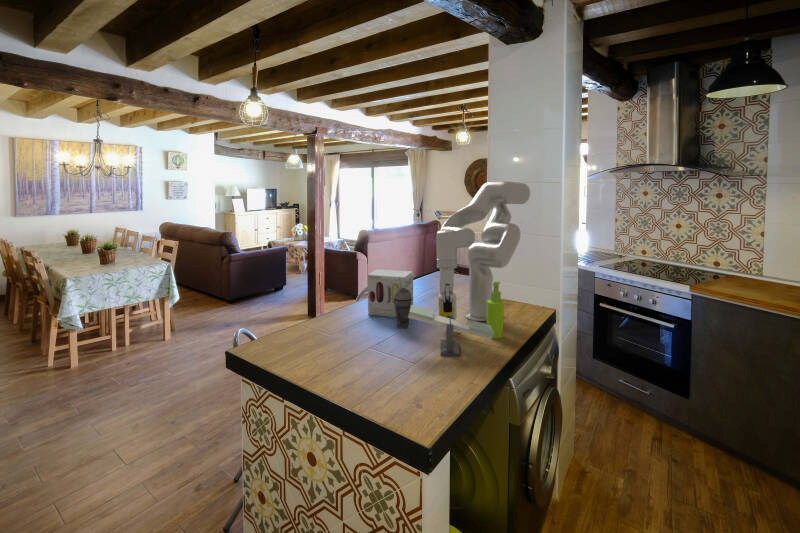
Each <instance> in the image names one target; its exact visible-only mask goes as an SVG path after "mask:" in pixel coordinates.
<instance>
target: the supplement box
mask: <svg viewBox="0 0 800 533" xmlns="http://www.w3.org/2000/svg"><path fill="white" fill-rule="evenodd" d="M399 277H400V280H401V288H406V289H407V290H409V291H410V293H411V296H412V300H411V305H414V271H413V270H396V269H381V268H380V269H379V268H377V269H376V270H373V271H372V272H370V273H368V274H367V312H368V313H367V316H377V317H378V316H379V317H387V318H388V317H389V318H396V311H395V304H394V294H395V292H396V291H397V290H398V289H400V282H399ZM411 305H410V308H411Z"/></svg>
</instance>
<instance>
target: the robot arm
mask: <svg viewBox="0 0 800 533" xmlns="http://www.w3.org/2000/svg"><path fill="white" fill-rule="evenodd" d="M530 196H531V189H530V187H529V185H527V184H526V183H523V182H515V181H503V180H502V181H488V182H485V183H484V184H482V185H481V186H480V187H479V189H478V190H477V192H476V193H475V195H474V196H473V198H472V199H471V201H470V202H469V204H468V205H466V206H464V207H462V208H461V209H459V210H458V211H456V212H454V213H453V214H451V215H450V216H449V217H448V218H447V220H446V221H444V223H443V224H442V227H441V228H440V230H437V232H436V238H435V239H436V241H435V242H436V268H437V269H439V294H441V295H442V294H444V302H443V312H452V302H451V295H452V294H453V293H454V290H453V289H454V286H455V285H454V284H455V269H457V268H458V249H459V248H460V249H461V248H463V249H465V248H466V249H467V248H468V249H467V252H466V254H467V255H466V256H467V261H468V268H469V269H468V272H469V278H468V279H469V280H468V311H466V312H464V318H466V319H467V320H472V321H476V322H487V301H488V300H491V292H492V291H493V283H494V276H493V273H492V270H491V268H493V269H494V268H496V269H503V268H505V267H507V265H508V264H509V263H510V261H511V259H512V257H513V255H514V253H515V251H516V249H517V247H518V245H519V243H520V241H521V230H520V227H519V226H518V225H517V224H515V223H511V220H512V215H511V214H512V213H511V212H510V210H509V208H508V206H507V205H525V204H526V203H527V202H529V200H530V198H531V197H530ZM491 210H492V211H491ZM490 212H491V213H490ZM489 213H490V217H489V218H488V220H487V221H486V224H485V225H484V228H483V230H482V231H481V234H480V238H481V240H482V241H477V242H475V240H476V234H475V232H474V230H472V229H471V228H468V227H465V226H467V225H472V224H475V223H477V222H481V221H483V220H485V219H486V218H487V216H488V215H489ZM445 292H446V294H445ZM449 292H450V294H449ZM445 296H446V297H445Z"/></svg>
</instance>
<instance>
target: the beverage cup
mask: <svg viewBox="0 0 800 533" xmlns="http://www.w3.org/2000/svg"><path fill="white" fill-rule="evenodd" d="M399 282H400V289H398V290H397V291H396V292H395V294H394V304H395V311H396V317H395V319H396V326H397V328H398V329H402V330H403V329H408V328H409V325H410V318H408V316H409V312H410V305H411V300H412V296H411V293H410V291H409V290H407V289H406V288H401V280H400V277H399Z"/></svg>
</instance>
